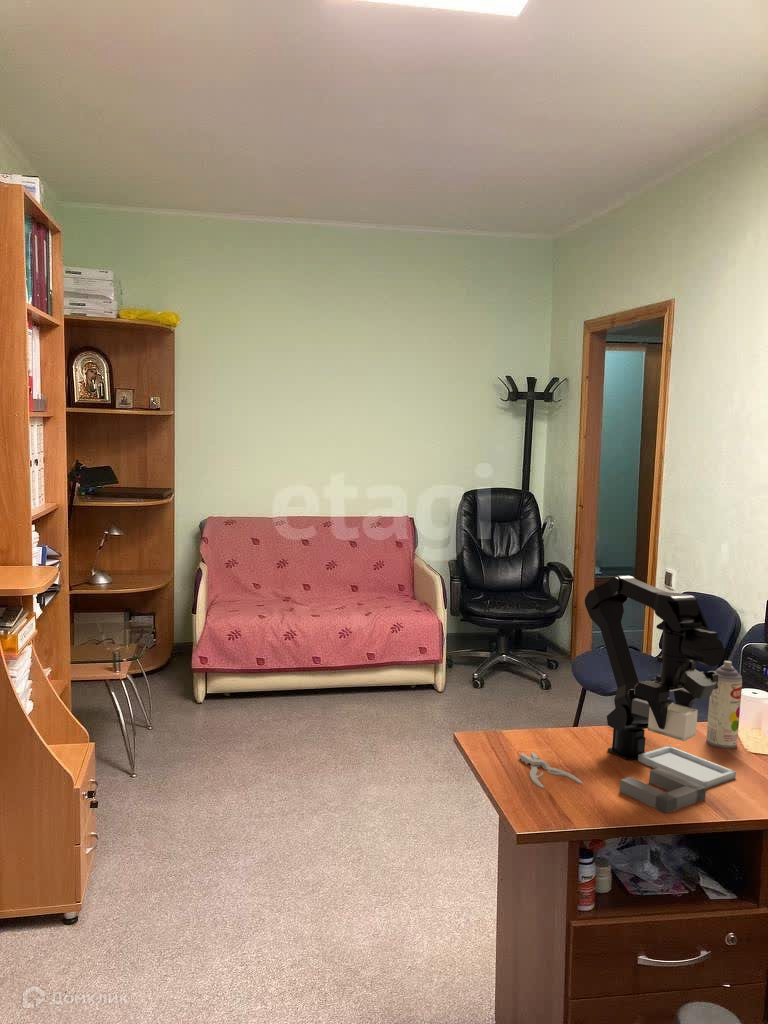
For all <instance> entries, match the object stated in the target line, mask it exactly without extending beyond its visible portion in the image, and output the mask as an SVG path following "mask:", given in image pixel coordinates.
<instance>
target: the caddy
mask: <svg viewBox="0 0 768 1024" xmlns="http://www.w3.org/2000/svg"><path fill="white" fill-rule="evenodd" d="M632 713H633V714H637V715H640V716H644V717H647V718H649V721H648V728H647V731H650V732H652V733H654V734H660V735H662V736H665V737H669V738H672V739H675V740H679V741H682V742H685V741H687V740H689V739H691V738H693V737H695V736H696V735H697V727H698V726H697V725H698V724H697V723H698V714H699V710H698V709H696V708H693V707H691V708H689V707H686V706H682V705H678V704H675V702H673V703H671V704H670V705H669V706H668V710H667V717H666V723H665V728H664V729H660V728H659V727H658V724H657V722H656V719H655V717H654V715H653V712H652V710H651V708H650V706H649V704H648V702H647V701H644V700H641V699H637V698H635V699H633V700H632Z"/></svg>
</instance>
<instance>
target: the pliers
mask: <svg viewBox="0 0 768 1024" xmlns="http://www.w3.org/2000/svg"><path fill="white" fill-rule="evenodd" d="M520 759H521V760H520ZM519 760H520V761H521V762H523V761H524V762H525V763H524V762H523V763H524V764H526V765H530V766H529V767H530V768H531V769H530V771H529V778H530V779H531V781H532V782H533V783H534V784H535V785H536V786H537V787H539V788H540V789H543V790H544V789H545V786H544V785H543V784H542V783H541V781H540V780H539V779H540V778H541V777H543V775H544V771H543V770H545V769H546V773H547V774H551V775H554V776H562V777H566V778H568V779H571V780H573V781H574V782H576V783H578V784H579V785H583V782H582V780H580V779H579V778H578V777H577V776H575V775H573V774H572V773H570V772H568V771H565V770H563V769H560V768H556V767H551V765H550V764H549V763H548V762H547V761H546V760H543V759H540V757H539V756H538V755H537V754H536V753H535V752H530V756H528V755H527V754H525V753H523V752H521V753H519ZM529 763H530V764H529ZM537 767H538V768H541V767H542V769H543V768H544V769H543V770H542V771H541V773H540V774H539V775H538V772H539V769H538V768H537ZM547 770H548V771H547ZM551 771H552V772H551Z"/></svg>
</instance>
